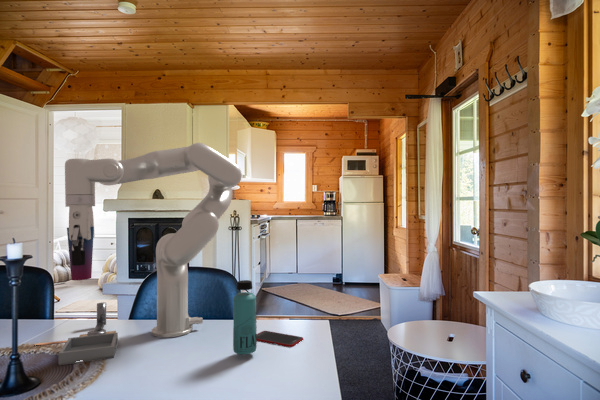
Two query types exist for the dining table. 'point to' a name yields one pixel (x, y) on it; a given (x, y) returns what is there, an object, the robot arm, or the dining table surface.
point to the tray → (88, 348)
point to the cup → (85, 270)
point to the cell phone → (278, 338)
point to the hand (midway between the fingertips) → (81, 262)
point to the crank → (99, 320)
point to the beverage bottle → (244, 319)
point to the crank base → (66, 340)
